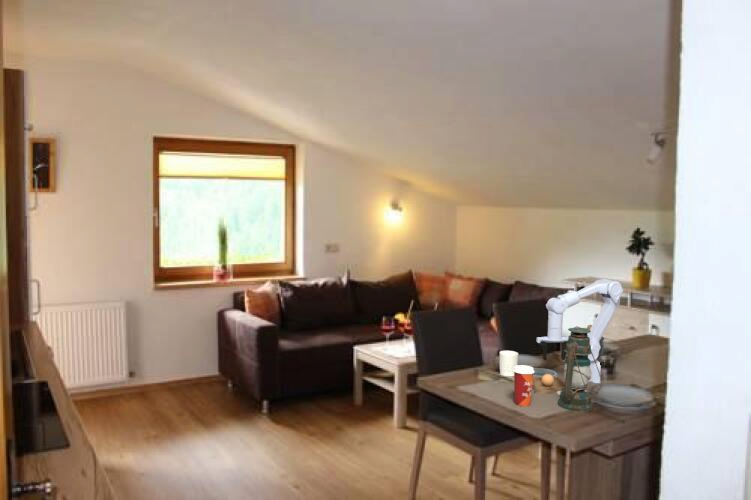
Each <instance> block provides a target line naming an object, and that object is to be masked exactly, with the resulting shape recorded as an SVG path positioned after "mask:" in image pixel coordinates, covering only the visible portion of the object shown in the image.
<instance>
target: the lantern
mask: <svg viewBox="0 0 751 500" xmlns="http://www.w3.org/2000/svg"><path fill="white" fill-rule="evenodd" d="M585 328H586V327H580V326H578V325H577V326H573V327H569V328H567V329H568V331H569V332H570V335H568V336H567V337H568V342H567V343H566V349H565V350H564V351H565V352H567V355H566V356H565V360H563V361H564V367H563V371H562V372H563V375H562V376H563V381H564V382H565V387H564V388H562V390H563V391H561V392H560V395H559V398H558V400H557V406H558V407H560V408H562V409H563V410H567V411H572V412H589V411H588V410H590V411H592V410H593V409H594V404H593V402H592V394H593V395H594V394H595V393H596V394H598V392H599V390H601V388H602V386H603V379H602V376H601V374H600V372H599V370H598V372H599V375H600V382H601V383H600V387H598V388H597V389H596V390H594V391H593V392H590V390H589V389H588V388H587V386H588V381H590V379H591V376H592V372H591V370H590V365H591V363H590V359H588V355H590V354H592V351H591V345H590V338H589V337H588V335H587V333H590V332H591V331H590V330H588V329H585ZM592 356H593V354H592ZM593 359H594V356H593ZM594 361H595V359H594ZM595 364H596V361H595ZM596 366H597V364H596ZM597 369H598V367H597ZM590 373H591V376H590ZM590 382H591V381H590ZM585 390H587V391H588V390H589V391H588V392H585ZM592 408H593V409H592ZM591 409H592V410H591Z"/></svg>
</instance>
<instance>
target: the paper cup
mask: <svg viewBox="0 0 751 500" xmlns="http://www.w3.org/2000/svg"><path fill="white" fill-rule="evenodd" d="M533 368H534V367H533V366H531V365H525V364H524V365H523V364H521V365H519V364H517V366H515V368H514V370H513V371H514V376H513V377H514V379H513V382H514V405H516V406H518V405H520V406H519V407H522V406H527V407H530V406H531V400H532V392H533V391H532V390H533V389H532V384H533V374H534V372H535V371H534V369H533ZM529 405H530V406H529Z"/></svg>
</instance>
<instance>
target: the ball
mask: <svg viewBox="0 0 751 500" xmlns="http://www.w3.org/2000/svg"><path fill="white" fill-rule="evenodd" d="M542 383H543V384H544V385H545V386H551V385H552V384H553V383H554V378H553V376H552V375H550V374H545V375H544V376H543V377H542Z"/></svg>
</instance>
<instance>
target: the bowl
mask: <svg viewBox="0 0 751 500" xmlns="http://www.w3.org/2000/svg"><path fill="white" fill-rule="evenodd" d="M533 369H534V371H535V372H534V374H533V377H543V376H544V375H545V374H550V375H552V376H553V377H558V373H557V372H556V371H555V370H552V369H549V368H541V367H540V368H539V367H533Z"/></svg>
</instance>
